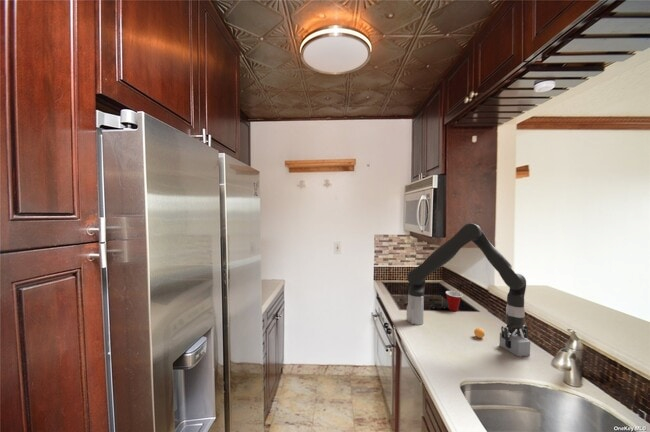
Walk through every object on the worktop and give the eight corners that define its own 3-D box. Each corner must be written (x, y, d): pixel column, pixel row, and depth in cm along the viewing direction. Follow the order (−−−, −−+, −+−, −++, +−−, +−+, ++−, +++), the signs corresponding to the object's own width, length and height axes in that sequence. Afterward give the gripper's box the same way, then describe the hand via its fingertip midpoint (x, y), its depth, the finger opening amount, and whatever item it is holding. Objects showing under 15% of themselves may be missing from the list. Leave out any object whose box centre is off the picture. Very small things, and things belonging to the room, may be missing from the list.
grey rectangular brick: (518, 356, 127) (518, 342, 127) (499, 345, 138) (499, 332, 137) (529, 355, 128) (530, 341, 128) (510, 344, 139) (510, 331, 139)
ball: (478, 340, 143) (479, 330, 143) (471, 335, 148) (472, 326, 148) (486, 339, 144) (486, 330, 144) (479, 335, 149) (479, 326, 149)
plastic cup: (455, 313, 180) (455, 296, 180) (441, 308, 189) (442, 292, 189) (465, 311, 185) (466, 294, 185) (452, 306, 194) (452, 290, 194)
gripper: (520, 310, 138) (519, 341, 138) (496, 312, 135) (495, 344, 135) (534, 316, 130) (533, 349, 131) (509, 318, 127) (508, 352, 128)
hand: (514, 346), depth 133 cm, fingers closed on grey rectangular brick, 6 cm apart
